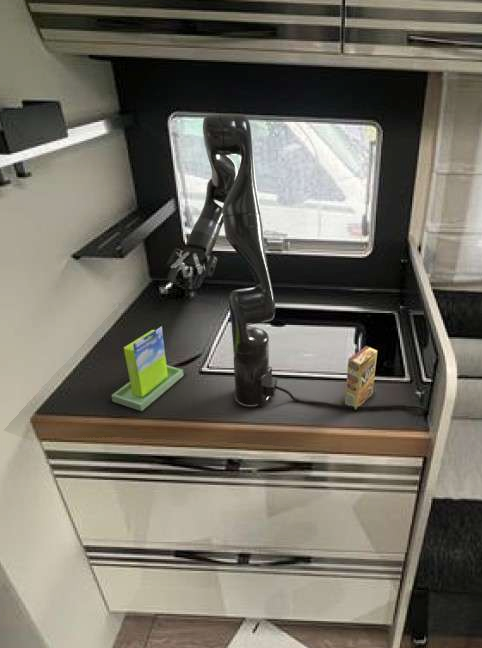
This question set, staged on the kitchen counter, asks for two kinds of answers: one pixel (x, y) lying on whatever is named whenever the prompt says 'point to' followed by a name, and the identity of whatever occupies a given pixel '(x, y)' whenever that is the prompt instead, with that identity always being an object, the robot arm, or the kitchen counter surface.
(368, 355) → the candy box
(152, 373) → the box
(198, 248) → the robot arm
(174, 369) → the green shallow tray
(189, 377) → the kitchen counter surface
